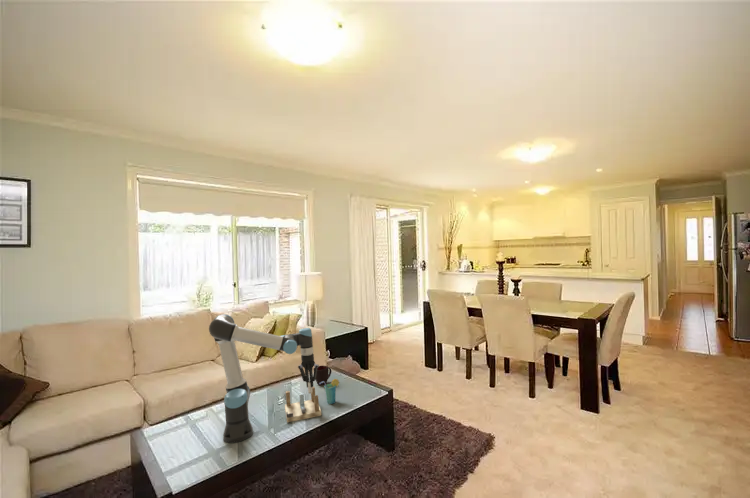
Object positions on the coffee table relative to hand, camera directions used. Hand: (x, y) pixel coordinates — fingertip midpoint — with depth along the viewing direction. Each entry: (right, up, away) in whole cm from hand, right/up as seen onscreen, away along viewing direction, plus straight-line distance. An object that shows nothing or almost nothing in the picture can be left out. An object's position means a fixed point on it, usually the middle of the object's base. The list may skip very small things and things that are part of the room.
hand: (310, 392), depth 220 cm
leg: (-4, -9, -4) cm, 10 cm away
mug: (+2, -12, +47) cm, 49 cm away
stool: (-5, -12, 0) cm, 13 cm away
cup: (+11, -11, +11) cm, 19 cm away
